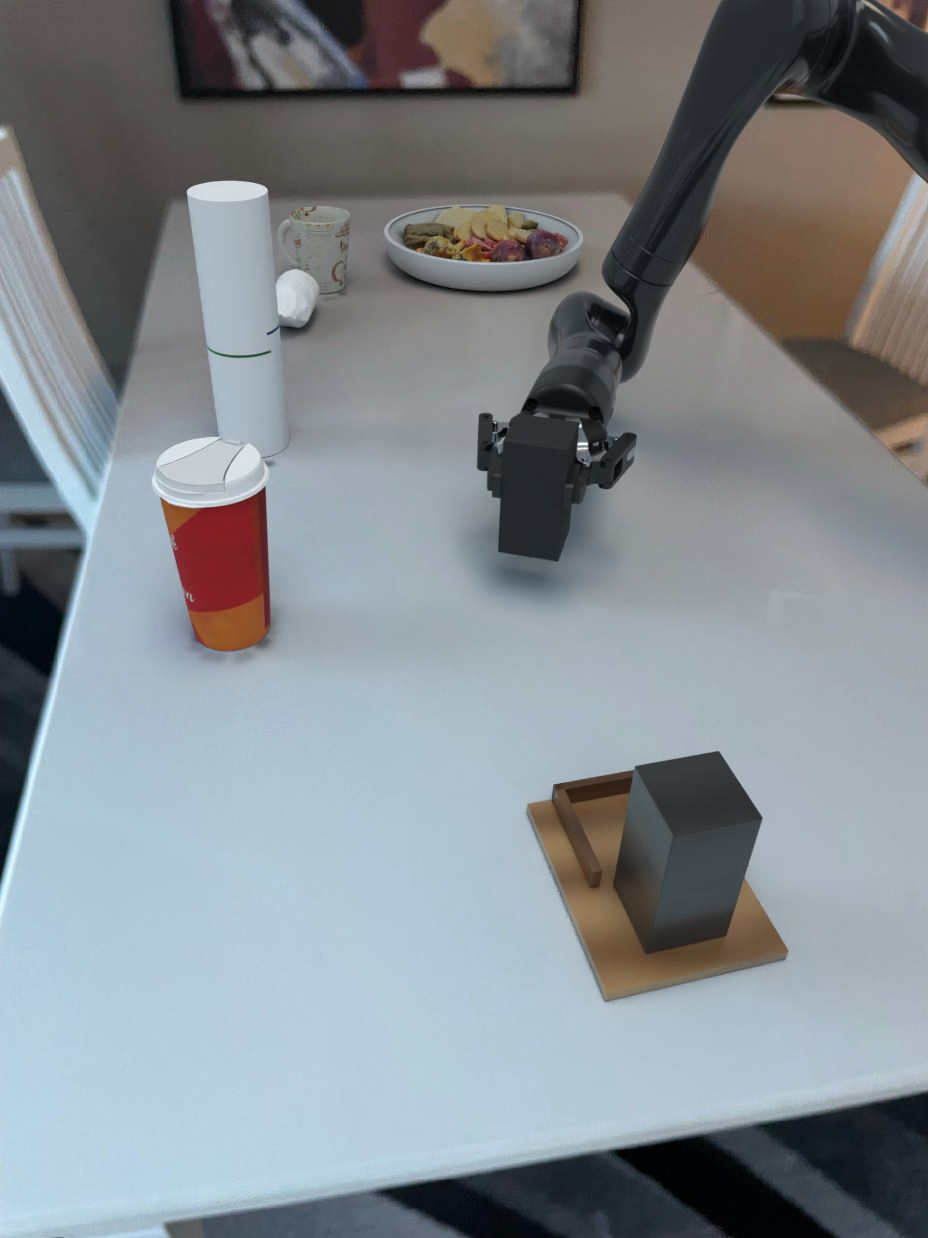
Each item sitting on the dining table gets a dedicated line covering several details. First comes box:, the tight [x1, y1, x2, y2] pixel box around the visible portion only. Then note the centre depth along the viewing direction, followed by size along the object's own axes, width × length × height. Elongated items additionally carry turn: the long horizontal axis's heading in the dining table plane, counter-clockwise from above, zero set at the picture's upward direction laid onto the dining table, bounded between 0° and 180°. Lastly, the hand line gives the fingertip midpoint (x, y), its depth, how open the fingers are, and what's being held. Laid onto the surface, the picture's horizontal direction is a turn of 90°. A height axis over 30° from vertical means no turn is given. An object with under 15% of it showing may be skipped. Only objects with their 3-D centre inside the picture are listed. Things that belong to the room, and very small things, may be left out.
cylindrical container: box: [186, 180, 290, 458], centre depth 97 cm, size 7×7×25 cm
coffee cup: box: [151, 436, 271, 652], centre depth 75 cm, size 8×8×15 cm
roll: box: [276, 268, 320, 329], centre depth 130 cm, size 6×12×6 cm, turn 178°
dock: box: [526, 750, 790, 1002], centre depth 58 cm, size 14×11×11 cm
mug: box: [276, 205, 351, 295], centre depth 141 cm, size 8×13×10 cm, turn 58°
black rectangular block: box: [497, 413, 580, 563], centre depth 80 cm, size 5×5×10 cm
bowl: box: [383, 203, 585, 292], centre depth 151 cm, size 30×30×8 cm
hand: (532, 492), depth 77 cm, fingers closed on black rectangular block, 5 cm apart
